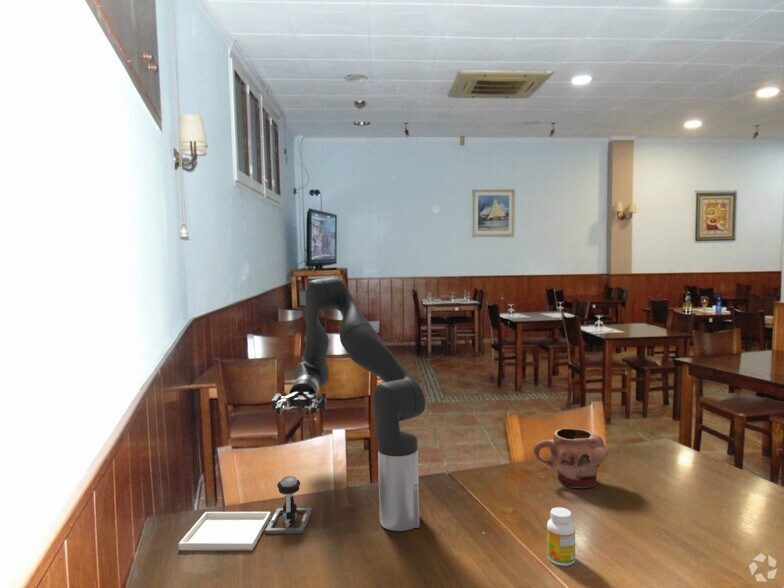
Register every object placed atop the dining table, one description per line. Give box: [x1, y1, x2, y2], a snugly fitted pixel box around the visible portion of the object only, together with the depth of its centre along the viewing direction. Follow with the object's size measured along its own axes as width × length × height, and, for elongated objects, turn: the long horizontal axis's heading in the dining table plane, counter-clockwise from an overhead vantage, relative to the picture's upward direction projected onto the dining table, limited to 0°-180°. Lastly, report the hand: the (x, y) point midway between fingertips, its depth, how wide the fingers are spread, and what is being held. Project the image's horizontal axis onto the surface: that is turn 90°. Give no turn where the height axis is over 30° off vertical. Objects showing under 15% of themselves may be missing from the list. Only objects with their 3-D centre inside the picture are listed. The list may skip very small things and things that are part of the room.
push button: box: [276, 475, 301, 528], centre depth 119 cm, size 7×5×10 cm
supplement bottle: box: [546, 506, 576, 567], centre depth 102 cm, size 5×5×10 cm
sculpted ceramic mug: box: [533, 428, 610, 489], centre depth 137 cm, size 20×12×14 cm, turn 95°
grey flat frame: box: [264, 507, 313, 535], centre depth 120 cm, size 9×11×1 cm
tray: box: [178, 511, 272, 551], centre depth 115 cm, size 16×14×2 cm
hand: (295, 411), depth 130 cm, fingers open, 8 cm apart
